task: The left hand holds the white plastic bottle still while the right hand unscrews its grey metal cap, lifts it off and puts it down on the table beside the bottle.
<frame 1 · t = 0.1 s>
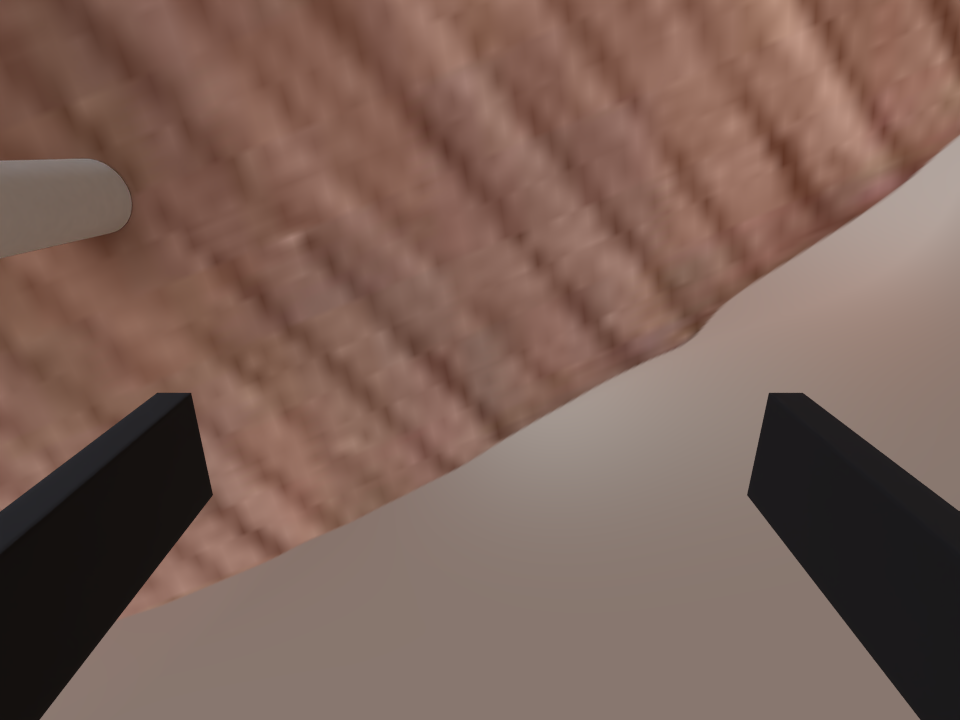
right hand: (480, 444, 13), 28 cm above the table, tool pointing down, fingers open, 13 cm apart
bottle: (95, 197, 37), on the table
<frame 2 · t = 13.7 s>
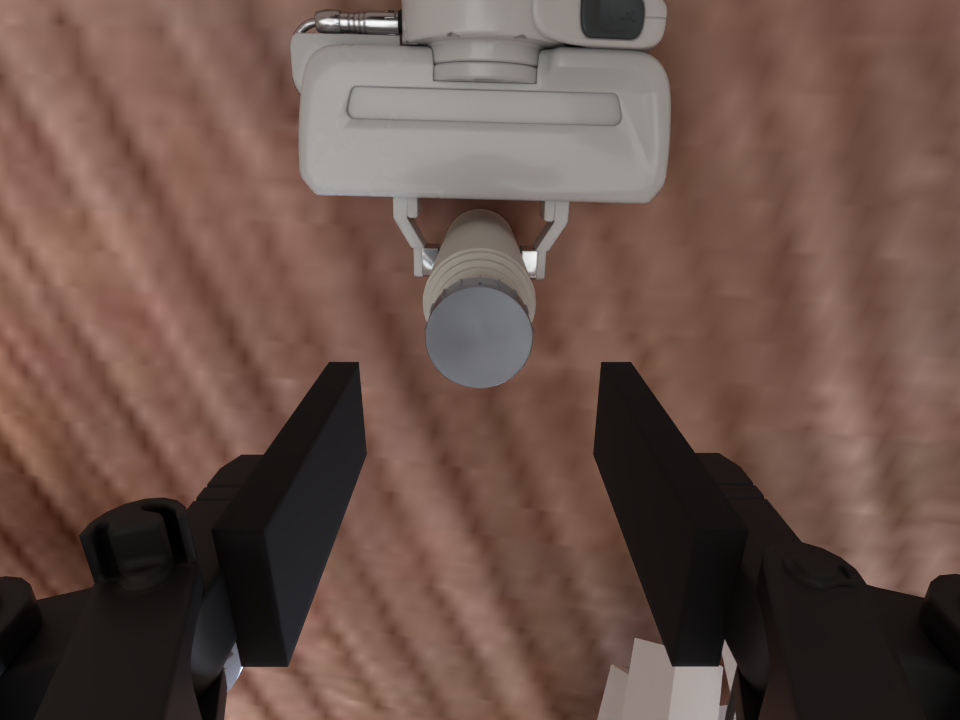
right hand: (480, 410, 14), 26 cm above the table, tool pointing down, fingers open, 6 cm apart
left hand: (479, 276, 33), fingers closed on bottle, 5 cm apart
cap: (479, 336, 20), point 20 cm above the table, screwed on, not yet turned
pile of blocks: (672, 681, 55), on the table
bottle: (479, 244, 39), on the table, touching left hand
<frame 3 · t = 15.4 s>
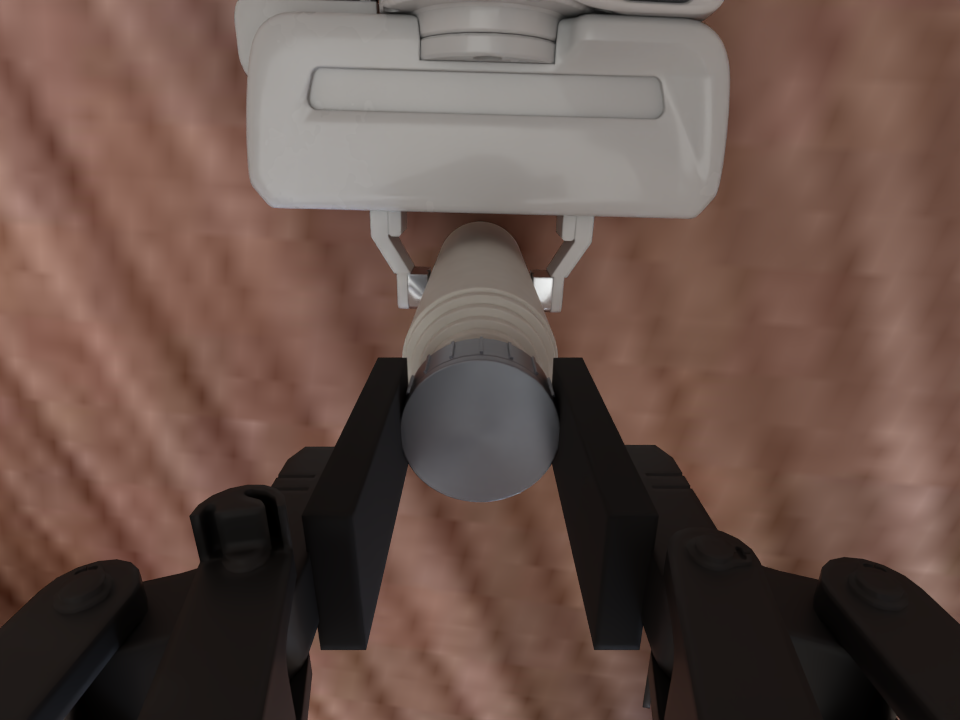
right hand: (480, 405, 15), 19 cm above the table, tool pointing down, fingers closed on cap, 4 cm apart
cap: (480, 429, 13), point 20 cm above the table, screwed on, not yet turned, touching right hand
bottle: (480, 264, 32), on the table, touching left hand
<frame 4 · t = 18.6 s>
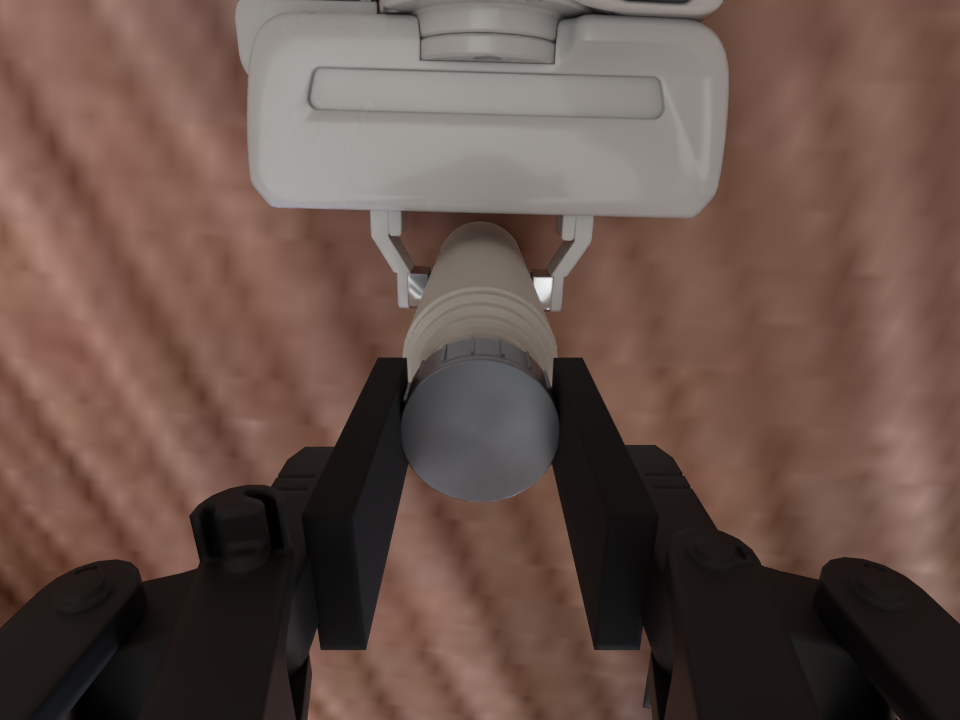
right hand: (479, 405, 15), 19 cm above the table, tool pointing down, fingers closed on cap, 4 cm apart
cap: (480, 428, 13), point 20 cm above the table, turned 91° so far, risen 0.1 cm, still on its thread, touching right hand
bottle: (480, 263, 32), on the table, touching left hand
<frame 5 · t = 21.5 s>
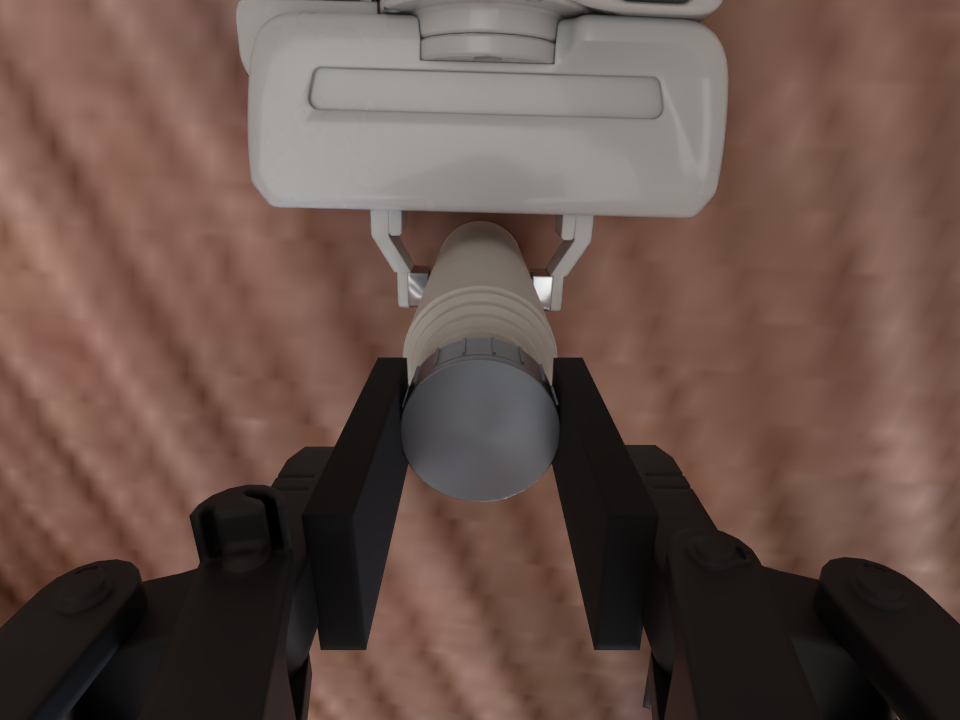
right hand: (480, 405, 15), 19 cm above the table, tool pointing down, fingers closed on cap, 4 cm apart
cap: (480, 428, 13), point 20 cm above the table, turned 182° so far, risen 0.2 cm, still on its thread, touching right hand
bottle: (480, 263, 32), on the table, touching left hand
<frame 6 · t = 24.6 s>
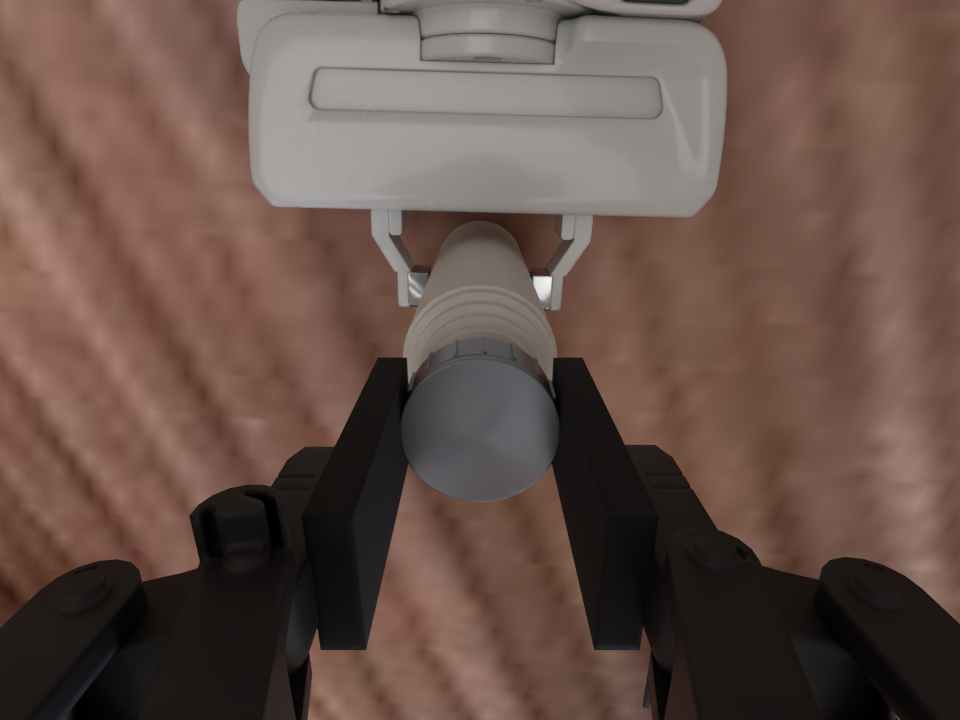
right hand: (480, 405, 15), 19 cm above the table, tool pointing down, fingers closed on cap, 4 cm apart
cap: (480, 428, 13), point 21 cm above the table, turned 273° so far, risen 0.2 cm, still on its thread, touching right hand
bottle: (479, 263, 32), on the table, touching left hand
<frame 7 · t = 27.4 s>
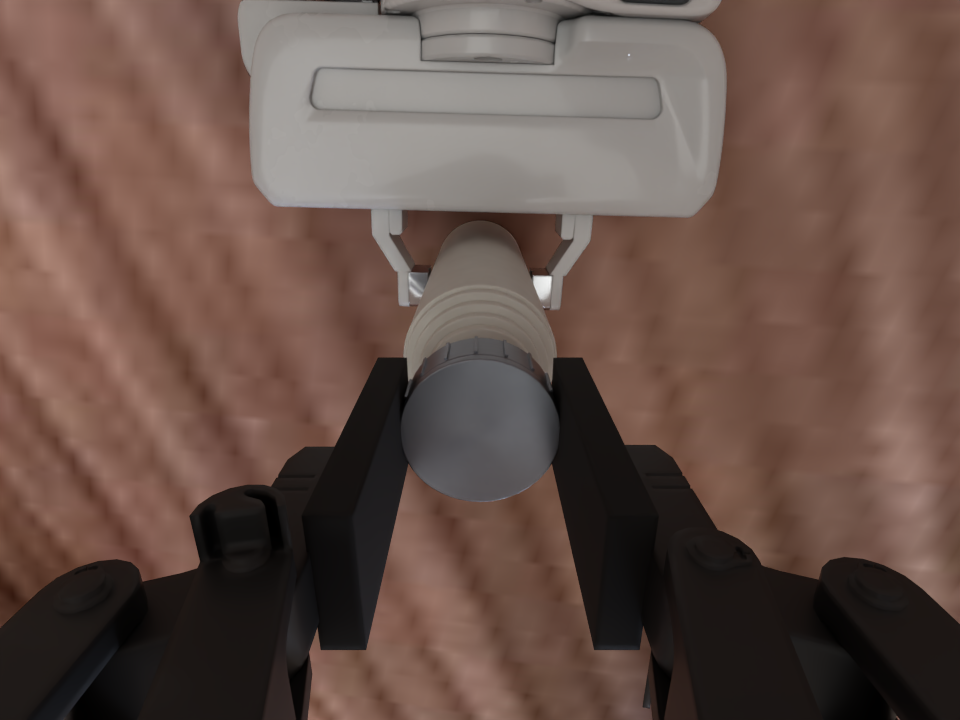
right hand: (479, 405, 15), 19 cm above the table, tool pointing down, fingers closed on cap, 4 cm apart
left hand: (480, 305, 27), fingers closed on bottle, 5 cm apart
cap: (480, 428, 13), point 21 cm above the table, turned 364° so far, risen 0.3 cm, still on its thread, touching right hand
bottle: (479, 262, 33), on the table, touching left hand
when the right hand's fingers open (1 cm above the table, at t = 36.2 s): cap drops 1 cm, point 1 cm above the table.
when the left hand's fingers open (6 cm above the table, at t = 37.5 s): bottle stays where it is, on the table.
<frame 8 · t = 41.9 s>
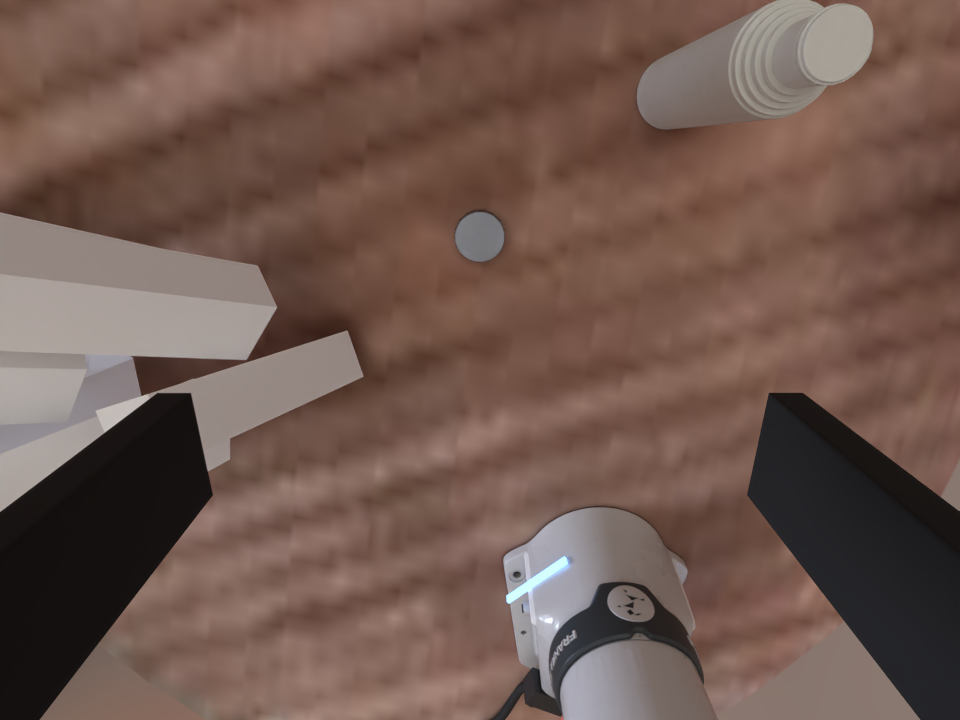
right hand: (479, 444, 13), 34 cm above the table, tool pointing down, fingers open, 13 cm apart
cap: (479, 236, 43), point 1 cm above the table, off its thread
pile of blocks: (131, 327, 47), on the table
bottle: (670, 93, 40), on the table
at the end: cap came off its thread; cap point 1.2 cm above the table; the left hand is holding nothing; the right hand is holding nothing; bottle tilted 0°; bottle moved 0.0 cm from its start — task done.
